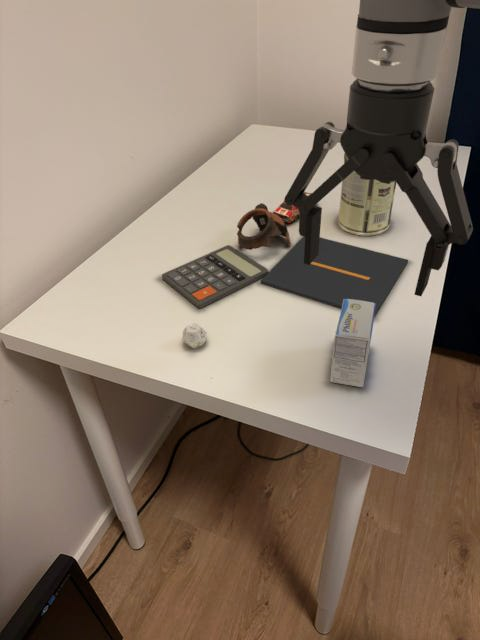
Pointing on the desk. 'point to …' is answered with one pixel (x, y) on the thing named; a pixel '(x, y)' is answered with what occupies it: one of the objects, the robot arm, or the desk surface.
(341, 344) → the medicine box
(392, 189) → the coffee can
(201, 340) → the game die
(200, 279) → the calculator
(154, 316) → the desk surface
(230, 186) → the desk surface
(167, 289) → the desk surface
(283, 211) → the race car
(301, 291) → the mat
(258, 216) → the brown looped frame
